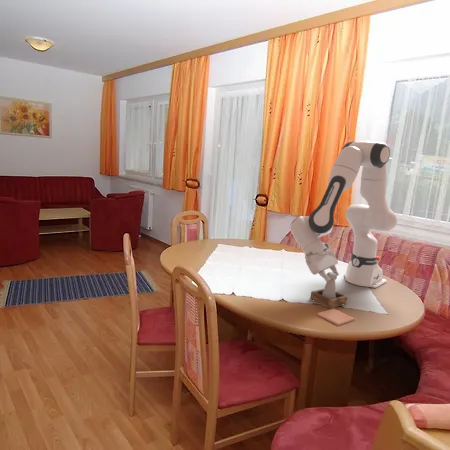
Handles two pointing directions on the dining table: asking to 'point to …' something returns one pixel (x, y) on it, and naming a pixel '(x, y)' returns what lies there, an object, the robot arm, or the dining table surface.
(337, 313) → the terracotta tile
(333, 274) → the salt shaker
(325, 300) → the box
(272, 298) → the dining table surface
